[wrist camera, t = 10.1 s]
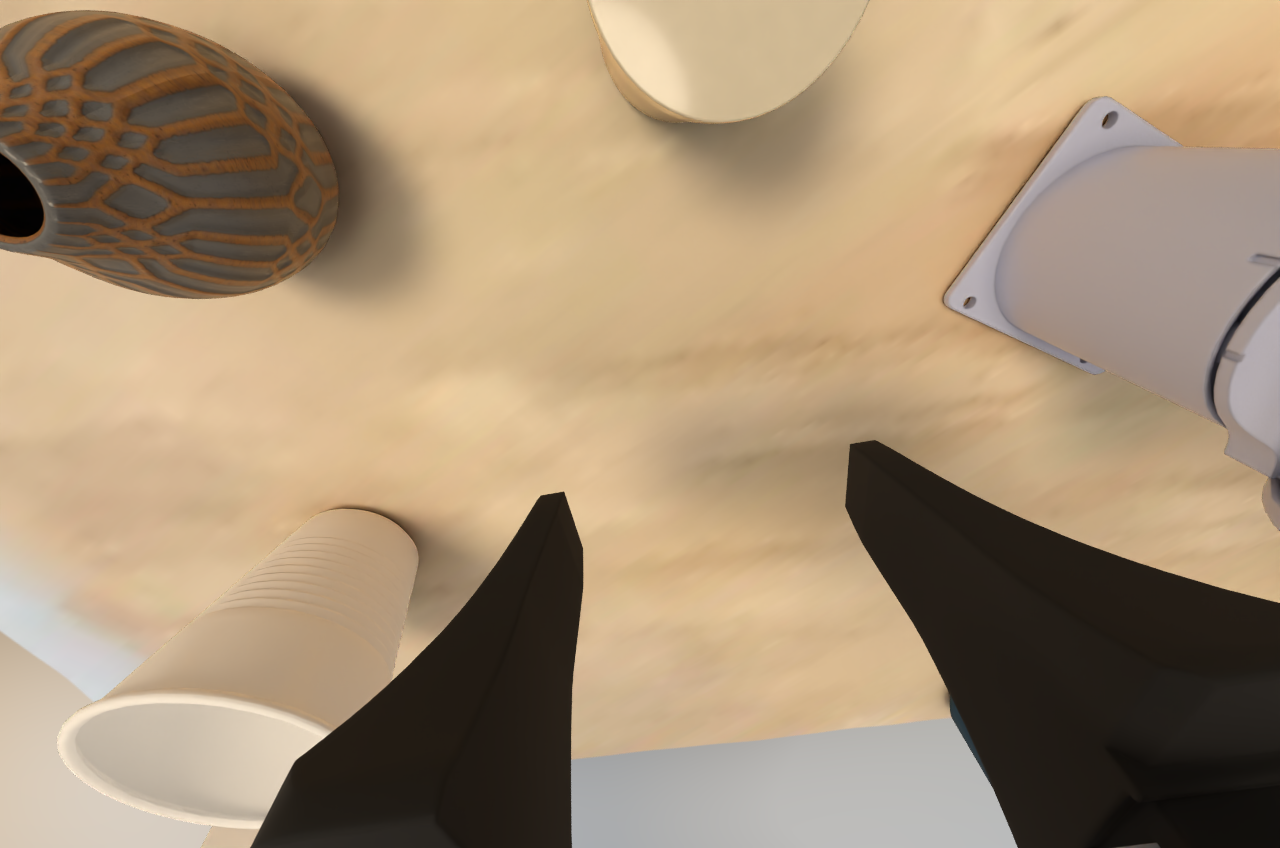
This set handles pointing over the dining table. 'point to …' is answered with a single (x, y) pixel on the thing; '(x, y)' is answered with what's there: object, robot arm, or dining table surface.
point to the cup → (253, 677)
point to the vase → (155, 158)
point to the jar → (719, 53)
